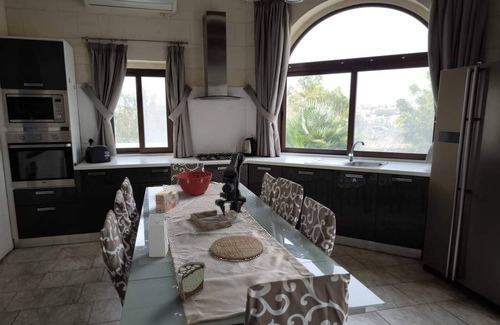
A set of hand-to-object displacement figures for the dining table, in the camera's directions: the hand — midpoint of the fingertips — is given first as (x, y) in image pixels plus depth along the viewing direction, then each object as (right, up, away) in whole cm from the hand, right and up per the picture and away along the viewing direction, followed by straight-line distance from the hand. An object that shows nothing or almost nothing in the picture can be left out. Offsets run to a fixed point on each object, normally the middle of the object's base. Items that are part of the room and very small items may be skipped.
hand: (231, 214), depth 190 cm
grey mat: (0, -2, 0) cm, 2 cm away
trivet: (+5, -10, -42) cm, 44 cm away
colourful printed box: (-45, 0, +22) cm, 50 cm away
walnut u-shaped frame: (-12, -4, -6) cm, 14 cm away
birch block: (0, -2, 0) cm, 2 cm away
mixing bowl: (-33, +7, +61) cm, 70 cm away
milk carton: (-30, -10, -47) cm, 57 cm away
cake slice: (-11, -15, -78) cm, 80 cm away
